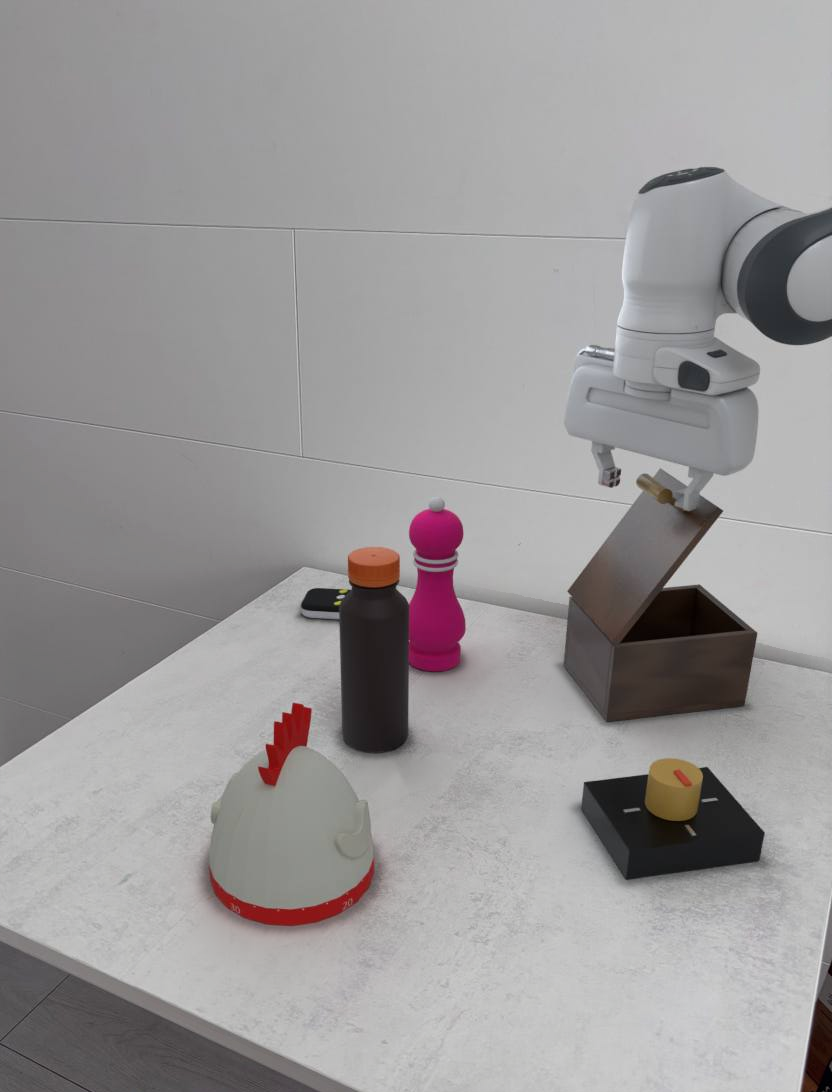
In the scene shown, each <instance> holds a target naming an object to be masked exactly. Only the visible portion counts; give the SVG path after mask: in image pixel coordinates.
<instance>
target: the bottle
mask: <svg viewBox="0 0 832 1092" xmlns="http://www.w3.org/2000/svg"><path fill="white" fill-rule="evenodd" d="M400 576H401V556H400V553H398V552H397V551H396V550H394V549H392V548H388V547H383V546H365V547H360V548H357V549H355V550H353V551H351V552H350V553H349V554H348V555H347V578H348V584H349V586H351V589H350V590H351V591H350V592H349V593H348V594H347V595H346V596H345V597H344V598H343V599H342V600H341V603H340V605H339V619H338V621H339V656H340V658H339V660H340V663H339V665H340V695H341V696H340V698H341V699H340V700H341V734H342V737H343V740H344V741H345V742H346V743H347V745H348V746H350V747H352V748H354V749H356V750H358V751H361V752H365V753H384V752H389V751H392V750H395V749H396V748H399V747H400V746H401V745H403V744H404V743H405V742H406V740H407V739H408V735H409V700H410V698H409V693H410V692H409V691H410V688H409V687H410V685H409V683H410V680H409V679H410V663H409V642H410V641H409V603H410V602H409V601H408V599H407V598H406V597H405V596H404V595H403V593H402V592H400V591H399V590H398V589H397V586H398V585H399V583H400Z"/></svg>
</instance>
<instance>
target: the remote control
mask: <svg viewBox="0 0 832 1092" xmlns="http://www.w3.org/2000/svg"><path fill="white" fill-rule="evenodd" d="M351 590H352V589H347V588H346V589H345V588H327V587H325V588H324V587H314V588H311V589H309V590H307V592H306V593H305V594H304V596H303V599H302V601H301V604H300V612H301V614H302V615H303V616H304V617H306V618H310V619H326V620H339V605H340V603H341V600H342V599H343V598H344V597H345V596H346V595H347V594H348V593H349V592H350V591H351Z"/></svg>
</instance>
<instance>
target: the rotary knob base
mask: <svg viewBox="0 0 832 1092" xmlns="http://www.w3.org/2000/svg"><path fill="white" fill-rule="evenodd" d="M698 768H699V769H700V770H701V772H702V774H703V780H702V786H701V792H700V798H699V804H698V810H697V813H696V815H695V816H694V817H692V818H691V819H688V820H684V821H670V820H666V819H662V818H660V817H657V816H655V815H654V814H652V813H651V812H650V811H649V810H648V809H647V807H646V805H645V797H646V789H647V782H648V775H649V773H647V774H638V775H629V776H622V777H614V778H607V779H605V778H604V779H598V780H590V781H584V782H583V785H582V786H583V787H582V797H581V805H580V806H581V807H580V809H581V811H582V812H583V814H584V816H585V817H586V819H587V820H588V822H589V824H590V825H591V826H592V828H593V830H594V831H595V833H596V835H597V836H598V838H599V839H600V841H601V842H602V844H603V846H604V848H605V849H606V850H607V852H608V853H609V856H610V857H611V858H612V860H613V862H614V863H615V864H616V866H617V868H618V869H619V871H620V873H621V874H622V875H623V877H624V879H625V880H632V879H639V878H646V877H655V876H660V875H668V874H676V873H683V872H690V871H697V870H704V869H705V870H706V869H712V868H718V867H719V868H720V867H725V866H732V865H739V864H747V863H754V862H759V861H760V859H761V853H762V849H763V844H764V839H765V834H766V833H765V831H764V829H762V828H761V827H760V825H759V824H758V823H757V822H756V821H755V820H754V819H753V817H752V816H751V815H750V813H748V811H746V809H745V808H744V807H743V806H742V805H741V803H739V801H738V800H737V799H736V797H734V796H733V794H732V793H731V792H730V791H729V790H728V789H727V787H726V786H725V785H724V784H723V783H722V782H721V781H720V780H719V778H718V777H717V776H716V774H715V773H713V771H712V770H711V769H710V768H709V767H708V766H702V767H698Z"/></svg>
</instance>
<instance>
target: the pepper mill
mask: <svg viewBox="0 0 832 1092" xmlns="http://www.w3.org/2000/svg"><path fill="white" fill-rule="evenodd" d="M445 507H446V502H445V500H444V498H442V497H441V496H437V495H436V496H433V497H431V498H430V499H429V501H428V508H427V509H423V510H422V511H420V512H418V513H417V514H415V516H414V517H413V518H412V520H411V522H410V525H409V528H408V529H409V530H408V537H409V541H410V543H411V545H412V546H413V548H414V549H415V550H414V551H413V552H412V555H413V560H412V563H413V565H414V567H416V571H417V578H416V579H417V580H416V582H417V583H416V585H415V590H414V593H413V595H412V597H411V599H410V601H409V602H408V603H409V665H411V667H413V668H415V669H418V670H421V671H425V672H443V671H448V670H451V669H454V668H455V667H457V666H458V665H459V664H460V662H461V658H462V657H461V654H462V653H461V652H462V646H461V644H460V641H461V640H462V639H463V637H464V636H465V634H466V630H467V625H466V617H465V613H464V610H463V608H462V606H461V604H460V601H459V600H458V598H457V595H456V592H455V587H454V570H455V568H457V566H458V565H459V560H458V557H459V551H457V549H458V548H459V547H460V546H461V544H462V542H463V540H464V533H465V532H464V526H463V522H462V521H461V519H460V517H459V516H458V515H457V514H456V513H454V512H453V511H451V510H449V509H446V508H445Z"/></svg>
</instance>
